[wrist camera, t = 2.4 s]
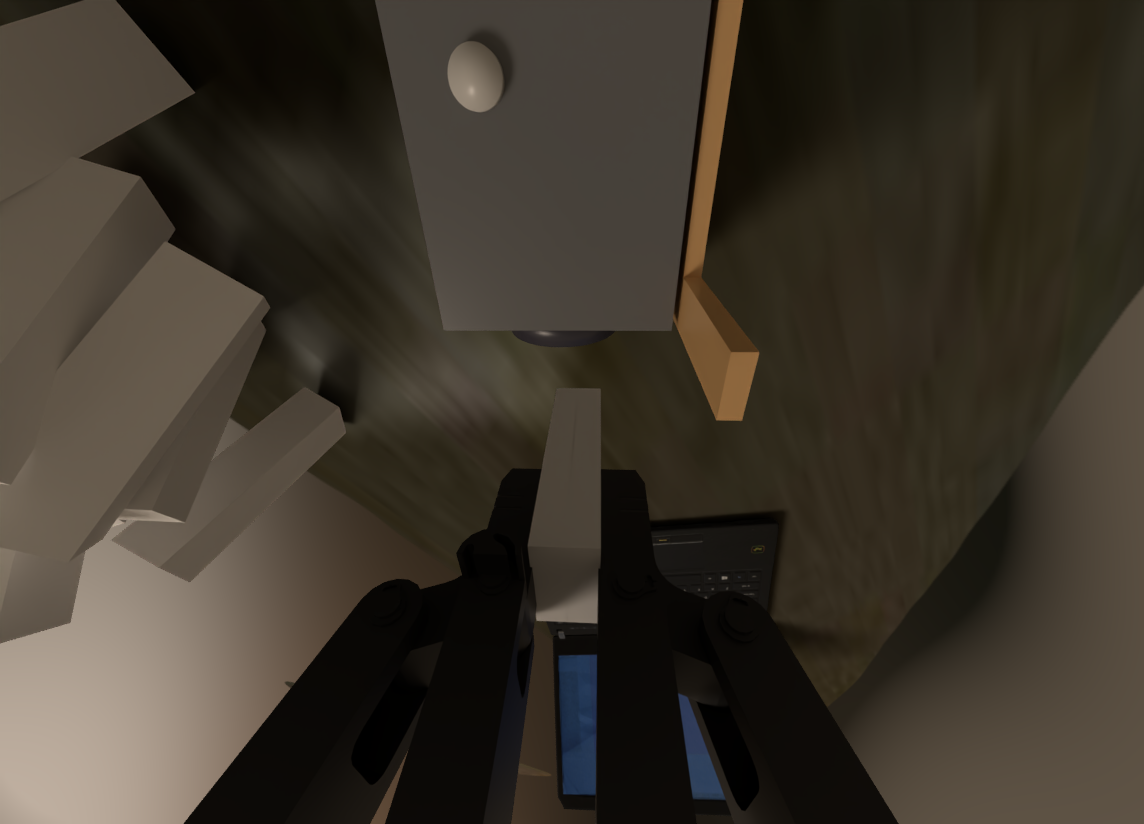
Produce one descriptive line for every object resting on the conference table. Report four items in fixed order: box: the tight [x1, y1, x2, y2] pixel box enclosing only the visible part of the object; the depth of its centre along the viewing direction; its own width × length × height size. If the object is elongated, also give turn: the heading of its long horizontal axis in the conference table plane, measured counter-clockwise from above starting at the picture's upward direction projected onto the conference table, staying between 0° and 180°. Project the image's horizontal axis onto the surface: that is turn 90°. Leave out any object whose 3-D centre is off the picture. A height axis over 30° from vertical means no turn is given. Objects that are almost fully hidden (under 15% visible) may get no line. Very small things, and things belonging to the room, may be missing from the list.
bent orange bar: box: [673, 0, 759, 421], centre depth 21 cm, size 16×1×21 cm, turn 1°
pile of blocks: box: [0, 0, 346, 643], centre depth 29 cm, size 35×30×35 cm
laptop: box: [546, 518, 779, 816], centre depth 53 cm, size 33×38×19 cm
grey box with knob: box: [375, 0, 711, 347], centre depth 25 cm, size 18×14×13 cm
